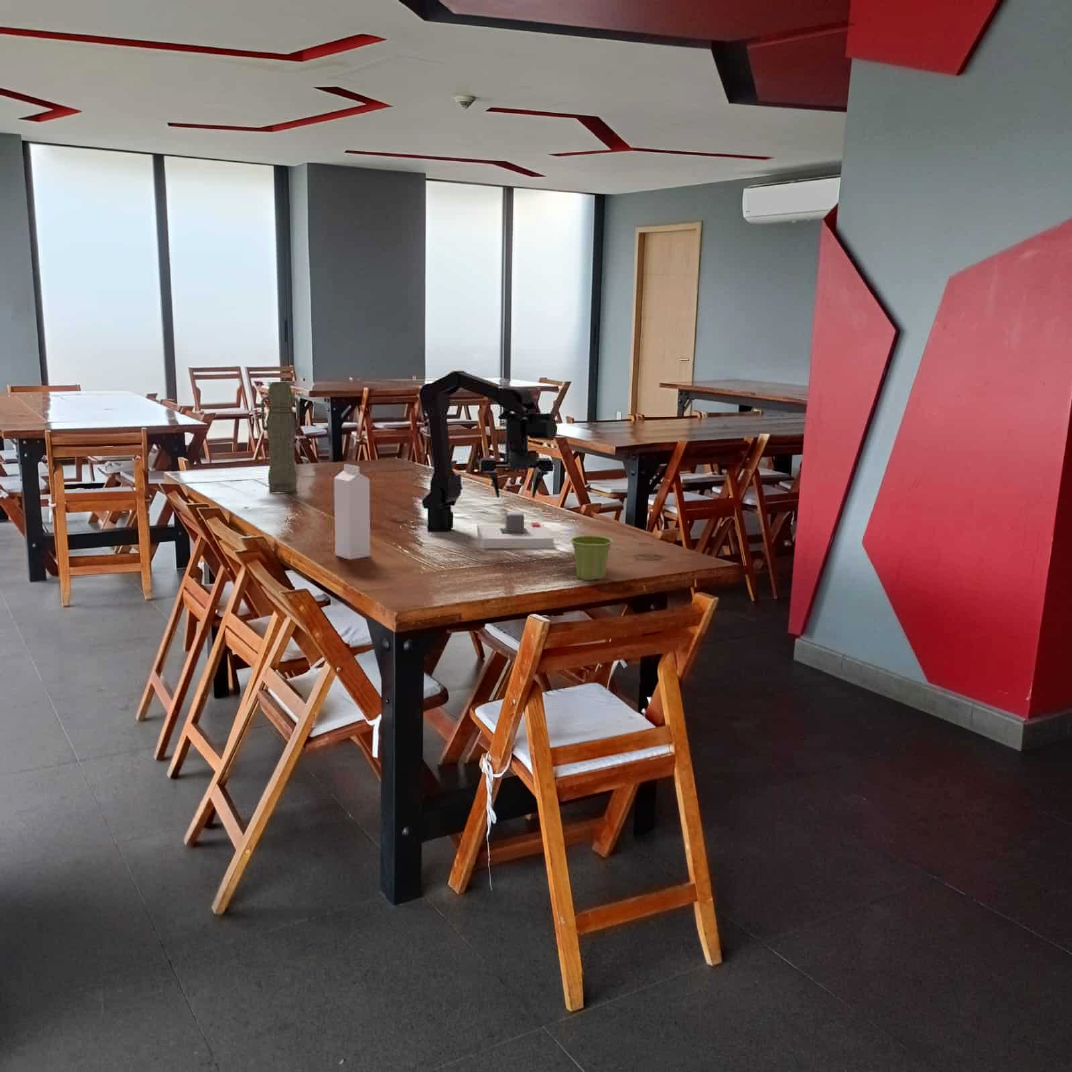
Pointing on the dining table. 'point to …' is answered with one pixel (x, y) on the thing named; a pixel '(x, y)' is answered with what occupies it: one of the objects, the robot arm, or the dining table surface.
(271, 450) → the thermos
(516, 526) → the plug
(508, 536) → the socket plate
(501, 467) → the robot arm
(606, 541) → the plant pot
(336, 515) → the milk
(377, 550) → the dining table surface
